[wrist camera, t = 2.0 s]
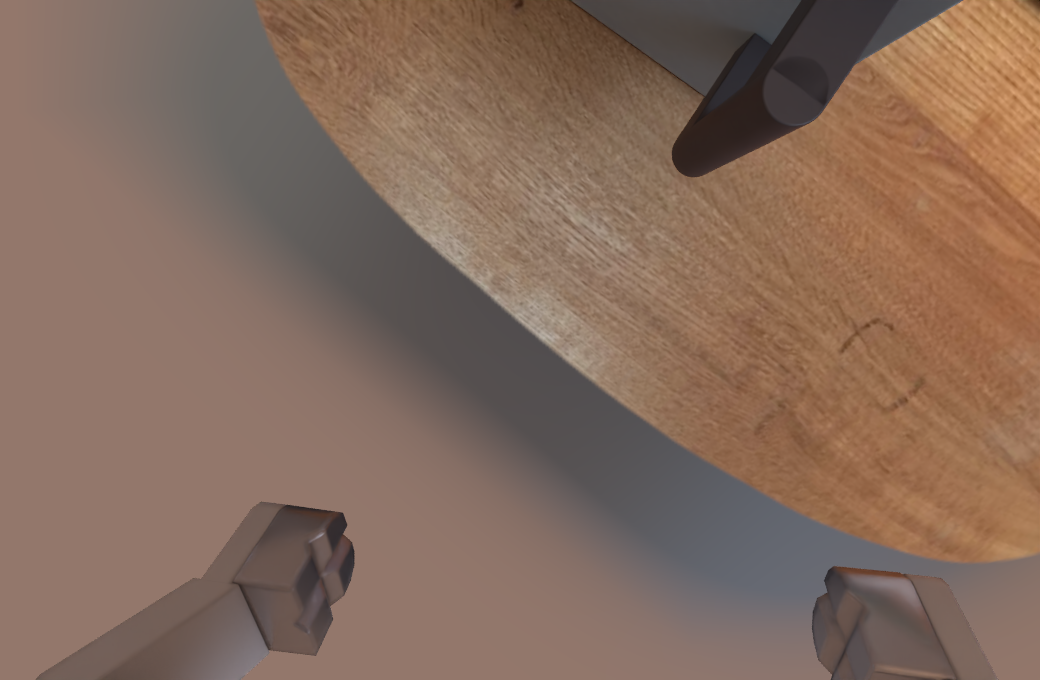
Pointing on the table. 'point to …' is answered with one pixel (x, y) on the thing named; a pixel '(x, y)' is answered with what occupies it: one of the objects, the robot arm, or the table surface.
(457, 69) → the table surface
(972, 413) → the table surface
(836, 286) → the table surface
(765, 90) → the cabinet door
